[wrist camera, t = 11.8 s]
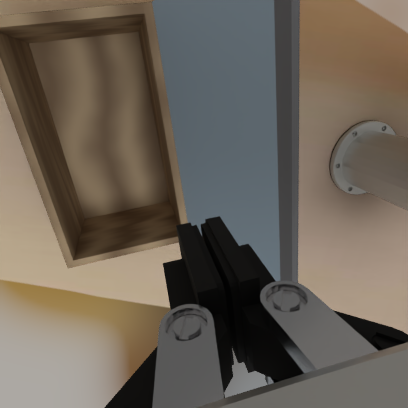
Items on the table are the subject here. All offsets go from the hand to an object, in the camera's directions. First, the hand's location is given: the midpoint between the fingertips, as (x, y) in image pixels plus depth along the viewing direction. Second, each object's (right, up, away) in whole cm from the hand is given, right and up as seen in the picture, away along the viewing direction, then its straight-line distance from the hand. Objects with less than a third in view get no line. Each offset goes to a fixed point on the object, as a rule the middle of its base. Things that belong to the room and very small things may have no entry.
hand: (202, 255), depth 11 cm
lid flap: (+2, +7, +14) cm, 16 cm away
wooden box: (-13, +12, +29) cm, 34 cm away
